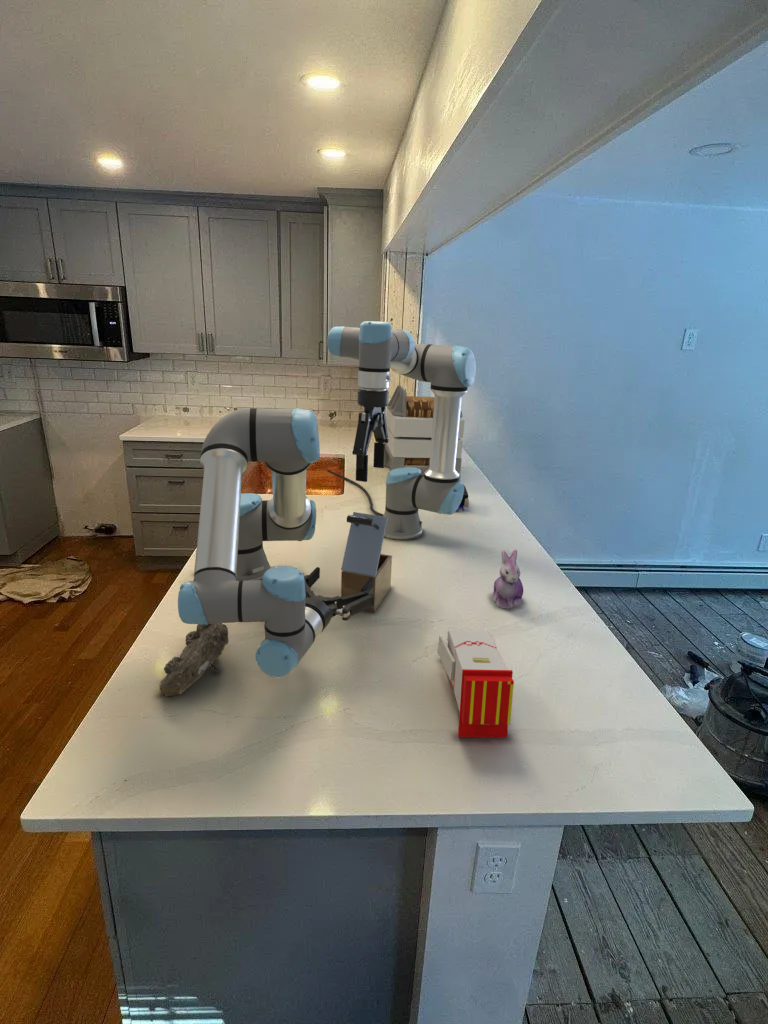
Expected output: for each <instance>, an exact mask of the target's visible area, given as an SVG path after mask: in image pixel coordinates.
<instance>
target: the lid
mask: <svg viewBox="0 0 768 1024" xmlns="http://www.w3.org/2000/svg"><path fill="white" fill-rule="evenodd" d="M387 519H388V517H384V516H379V515H377V514H369V513H365V512H364V513H363V512H356V511H353V513H352V514H347V516H346V523H348V524H349V523H350V527H349V530H348V536H347V541H346V544H345V550H344V555H343V558H342V563H341V571H349V572H354V573H360V574H365V575H371V576H376V573H377V568H378V563H379V559H380V554H382V549H383V544H384V539H385V537H384V534H385V529H386V524H387Z"/></svg>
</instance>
